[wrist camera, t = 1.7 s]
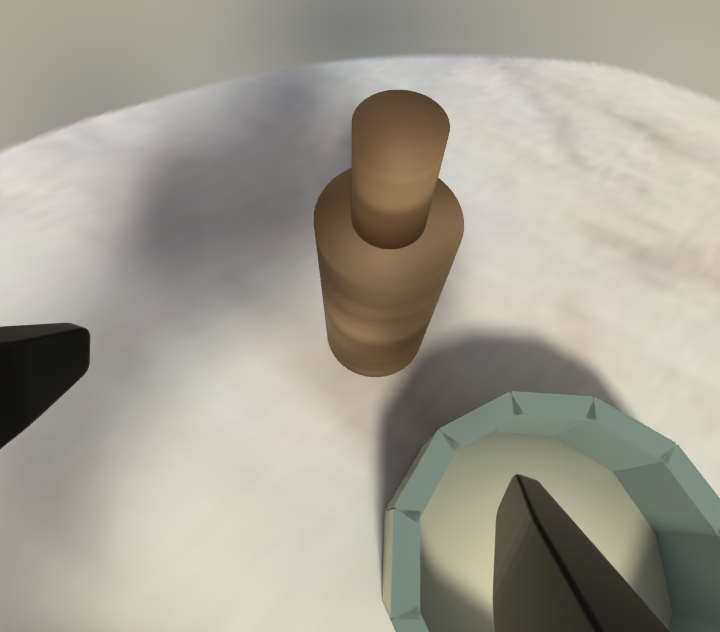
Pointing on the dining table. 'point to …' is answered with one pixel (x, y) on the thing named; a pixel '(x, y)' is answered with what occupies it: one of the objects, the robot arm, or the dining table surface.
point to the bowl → (570, 490)
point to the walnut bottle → (387, 233)
